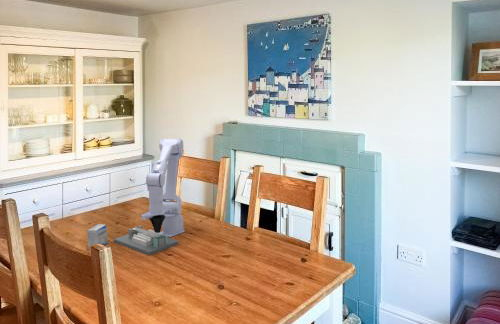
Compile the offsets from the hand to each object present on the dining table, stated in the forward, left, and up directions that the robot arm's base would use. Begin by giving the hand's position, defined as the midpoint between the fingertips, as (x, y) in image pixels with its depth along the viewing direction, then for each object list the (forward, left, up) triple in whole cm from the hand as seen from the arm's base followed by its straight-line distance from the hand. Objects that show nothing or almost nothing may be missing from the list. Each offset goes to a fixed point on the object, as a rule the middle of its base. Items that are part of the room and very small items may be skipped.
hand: (157, 232), depth 181 cm
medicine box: (+15, -21, -7) cm, 27 cm away
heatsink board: (0, -8, -7) cm, 10 cm away
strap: (0, -7, -2) cm, 7 cm away
